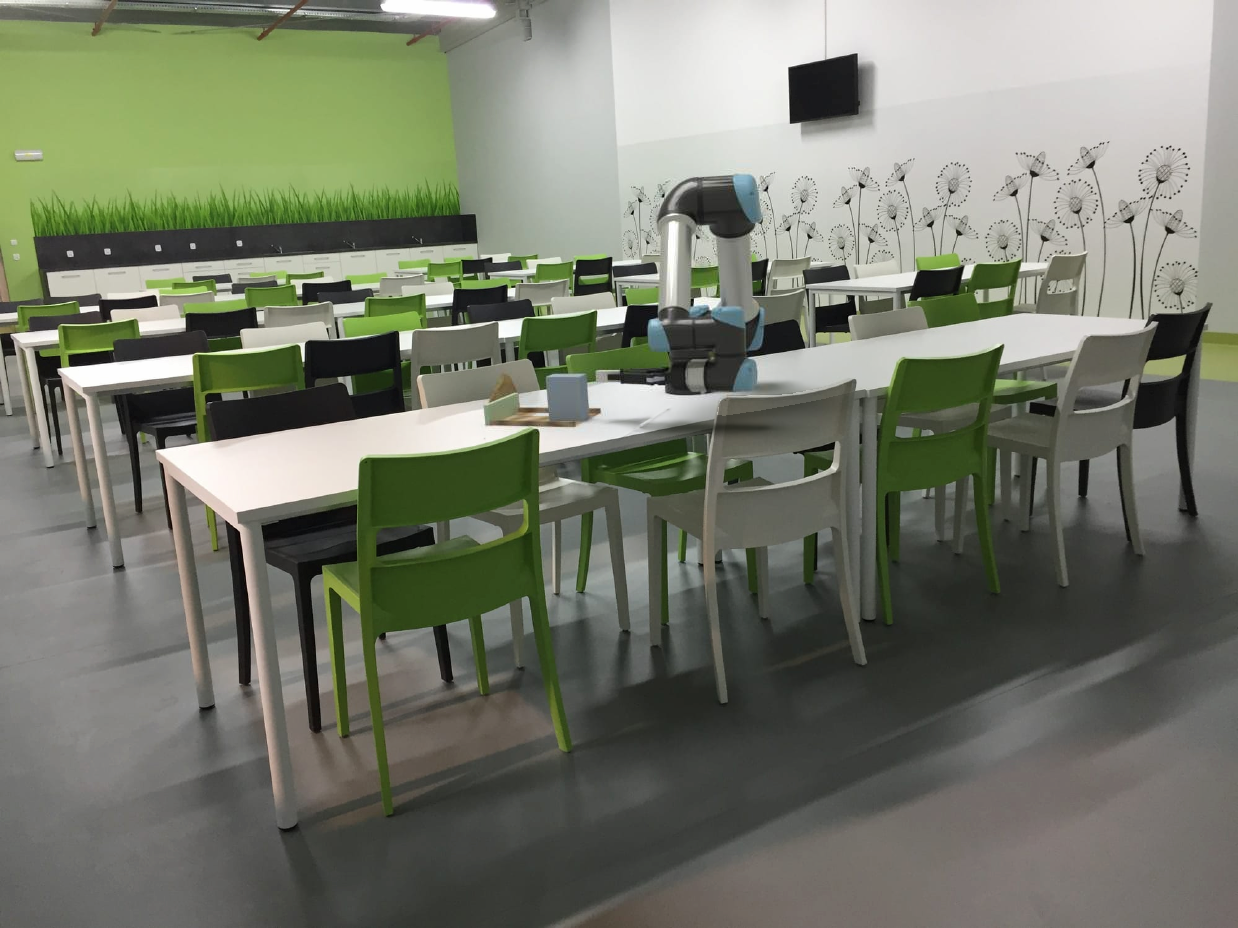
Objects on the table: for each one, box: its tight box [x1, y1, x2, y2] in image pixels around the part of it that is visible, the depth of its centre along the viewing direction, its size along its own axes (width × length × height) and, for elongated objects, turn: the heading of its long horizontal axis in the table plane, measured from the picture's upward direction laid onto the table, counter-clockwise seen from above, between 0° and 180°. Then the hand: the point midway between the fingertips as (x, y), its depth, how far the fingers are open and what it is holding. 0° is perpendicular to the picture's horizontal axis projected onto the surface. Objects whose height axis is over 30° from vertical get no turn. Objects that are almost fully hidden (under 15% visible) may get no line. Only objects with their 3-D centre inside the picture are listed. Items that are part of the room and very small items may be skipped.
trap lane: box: [489, 406, 602, 428], centre depth 250 cm, size 23×17×2 cm
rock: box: [488, 372, 521, 405], centre depth 268 cm, size 11×9×10 cm
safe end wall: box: [483, 392, 521, 426], centre depth 254 cm, size 1×17×6 cm, turn 158°
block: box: [545, 373, 590, 421], centre depth 246 cm, size 9×4×11 cm, turn 68°
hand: (597, 376), depth 241 cm, fingers closed
